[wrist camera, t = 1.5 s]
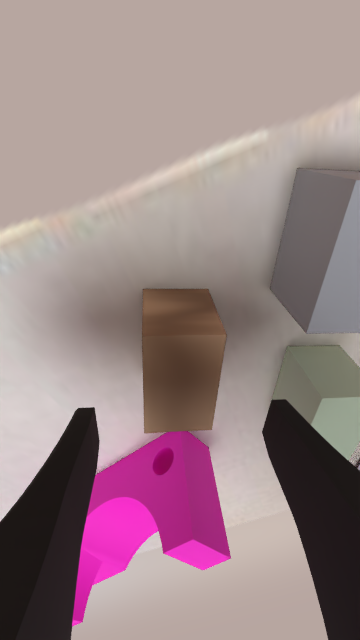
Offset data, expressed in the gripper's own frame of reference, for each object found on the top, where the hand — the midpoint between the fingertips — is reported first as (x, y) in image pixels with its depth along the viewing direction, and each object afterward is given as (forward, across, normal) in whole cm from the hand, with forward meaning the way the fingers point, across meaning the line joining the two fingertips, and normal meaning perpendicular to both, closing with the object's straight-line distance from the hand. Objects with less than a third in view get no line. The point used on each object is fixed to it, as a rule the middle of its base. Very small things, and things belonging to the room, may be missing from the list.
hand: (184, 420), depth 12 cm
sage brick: (+6, -9, +4) cm, 12 cm away
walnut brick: (+6, 0, 0) cm, 6 cm away
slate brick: (+6, -7, -6) cm, 11 cm away
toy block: (+7, +3, +15) cm, 17 cm away
